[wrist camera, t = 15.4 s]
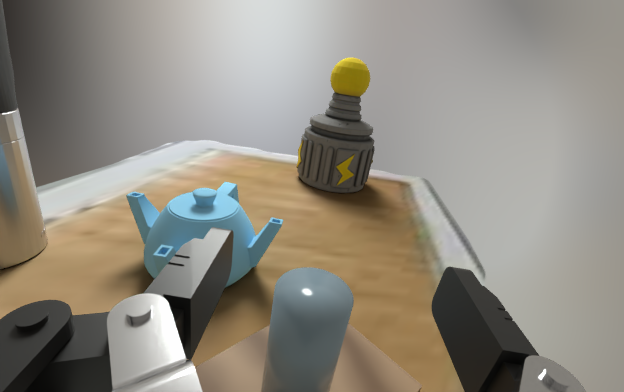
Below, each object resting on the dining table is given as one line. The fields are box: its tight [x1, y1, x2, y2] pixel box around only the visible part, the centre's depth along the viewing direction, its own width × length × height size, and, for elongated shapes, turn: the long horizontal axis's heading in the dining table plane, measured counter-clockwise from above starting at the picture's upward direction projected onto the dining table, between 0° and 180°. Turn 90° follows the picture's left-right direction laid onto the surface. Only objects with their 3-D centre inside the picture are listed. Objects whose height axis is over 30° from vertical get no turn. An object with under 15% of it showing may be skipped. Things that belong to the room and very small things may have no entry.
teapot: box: [126, 182, 283, 287], centre depth 38 cm, size 15×15×11 cm
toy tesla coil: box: [297, 58, 374, 193], centre depth 74 cm, size 19×19×30 cm
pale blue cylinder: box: [261, 268, 353, 392], centre depth 23 cm, size 6×6×11 cm
